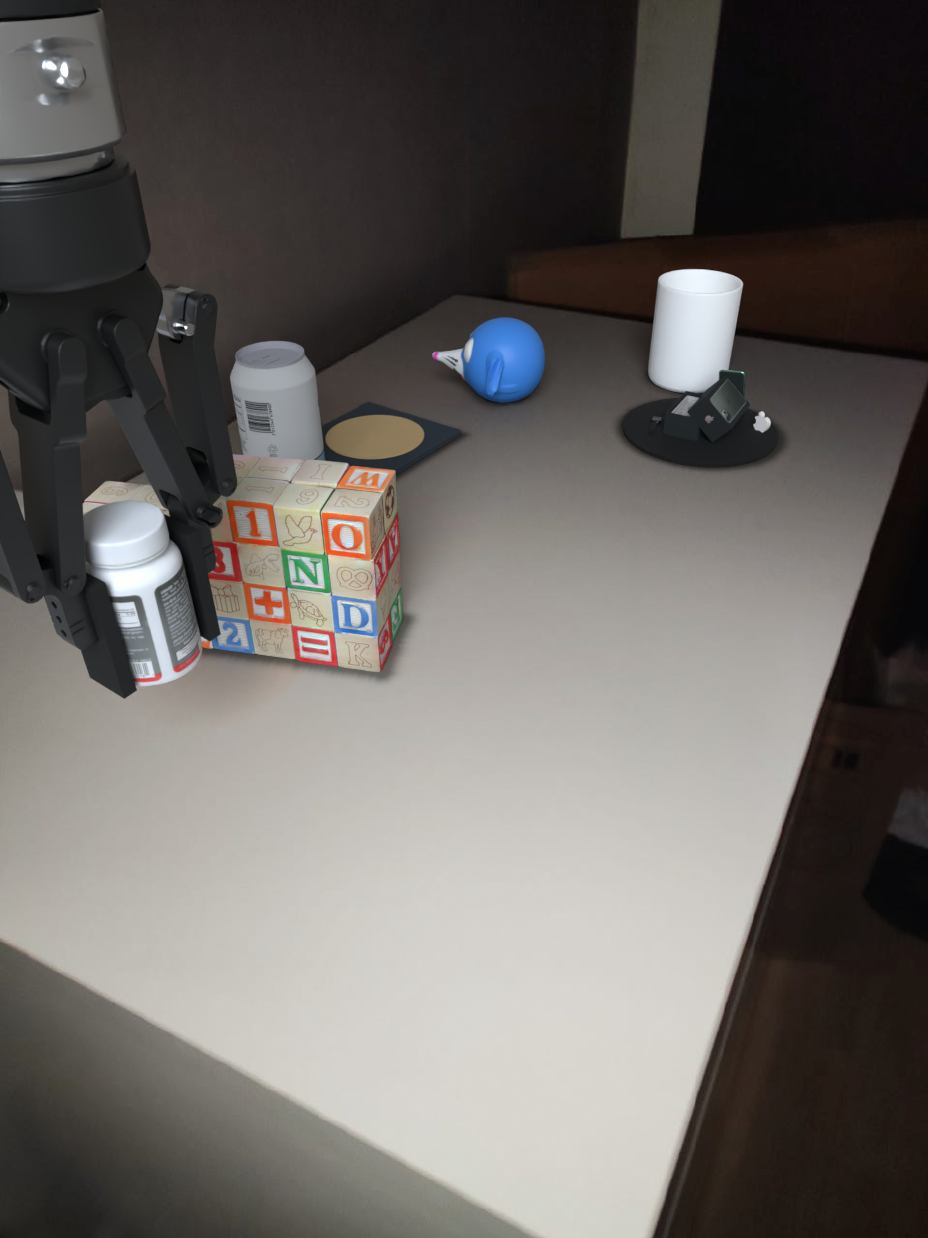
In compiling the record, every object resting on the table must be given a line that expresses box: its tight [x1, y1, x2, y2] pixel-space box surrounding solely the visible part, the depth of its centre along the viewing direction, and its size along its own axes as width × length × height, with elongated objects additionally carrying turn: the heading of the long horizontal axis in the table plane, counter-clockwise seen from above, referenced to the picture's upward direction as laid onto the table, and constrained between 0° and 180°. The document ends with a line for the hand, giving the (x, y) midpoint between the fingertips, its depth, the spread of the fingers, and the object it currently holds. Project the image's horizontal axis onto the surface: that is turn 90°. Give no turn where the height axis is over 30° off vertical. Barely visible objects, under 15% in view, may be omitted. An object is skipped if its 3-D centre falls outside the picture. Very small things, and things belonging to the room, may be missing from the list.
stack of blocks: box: [83, 453, 404, 673], centre depth 62 cm, size 21×6×12 cm, turn 78°
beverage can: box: [229, 340, 325, 461], centre depth 77 cm, size 7×7×12 cm
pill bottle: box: [83, 501, 203, 687], centre depth 45 cm, size 5×5×8 cm
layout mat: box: [321, 401, 462, 476], centre depth 85 cm, size 12×24×1 cm, turn 144°
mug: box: [647, 268, 744, 394], centre depth 99 cm, size 9×12×11 cm
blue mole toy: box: [431, 316, 546, 404], centre depth 95 cm, size 12×12×8 cm
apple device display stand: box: [622, 369, 779, 468], centre depth 89 cm, size 15×15×6 cm
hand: (156, 654), depth 47 cm, fingers closed on pill bottle, 5 cm apart
